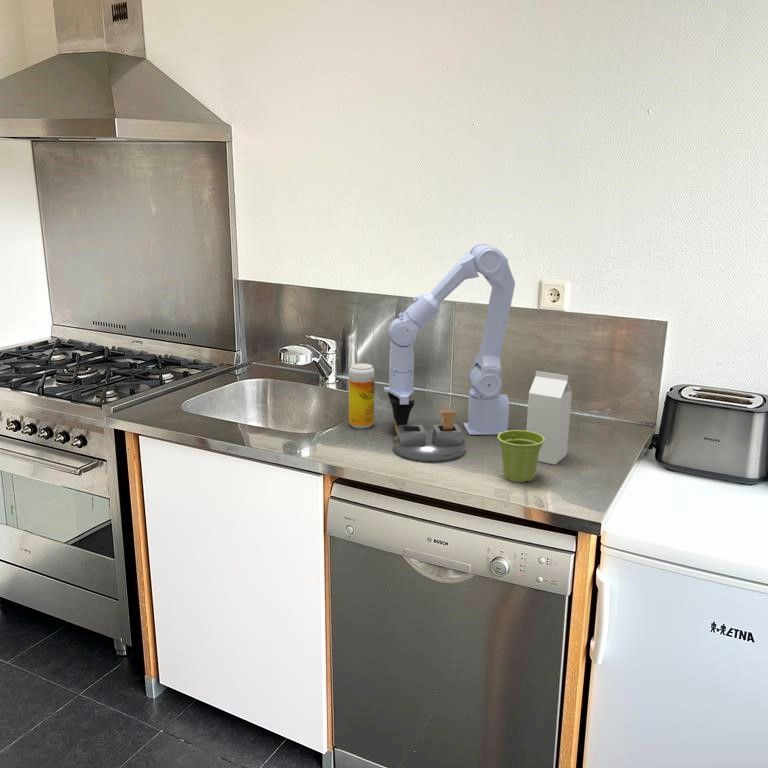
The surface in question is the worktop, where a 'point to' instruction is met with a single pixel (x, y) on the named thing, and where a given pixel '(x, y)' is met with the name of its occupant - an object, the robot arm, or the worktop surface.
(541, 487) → the worktop surface
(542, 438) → the plant pot
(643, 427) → the worktop surface
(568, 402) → the milk carton
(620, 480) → the worktop surface
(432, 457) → the two socket peg base
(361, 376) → the beer can
